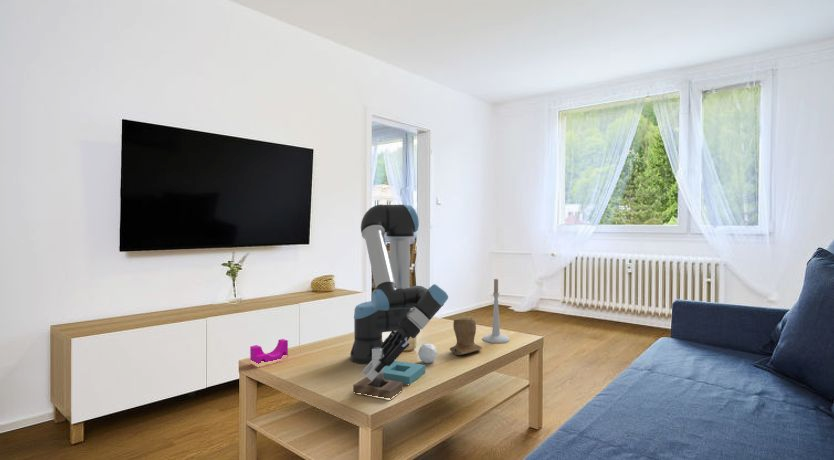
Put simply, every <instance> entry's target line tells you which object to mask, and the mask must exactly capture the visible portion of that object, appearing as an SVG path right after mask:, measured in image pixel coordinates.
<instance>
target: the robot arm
mask: <svg viewBox="0 0 834 460" xmlns="http://www.w3.org/2000/svg"><path fill="white" fill-rule="evenodd" d="M419 225H420V219H419V216H418V213H417V210H416V208H415V207H414V206H413V205H410V204H376V205H373V206H372V207H370V208H369V209H368V210H367V211H366V212H365V214H364V215H363V217H362V219H361V223H360V232H361V237H362V238H363V239H364V240H365V244H366V251H367V253H368V259H369V264H370V268H371V272H372V276H373V281H374V286H375V289H374V290H373V291H372V293H371V301H366V302H365V301H364V302H361V303H359V304H357V305H356V306H355V308H354V316H353V319H354V321H353V322H354V323H353V324H354V325H353V326H354V331H353V332H354V342H353V344H352V347H351V351H350V356H349V358H350V360H351V361H352V362H353V363H357V364H367V365H365V367H364V368H363V369H362V373H364V374H365V377H367V378H369V379H370V380H371V381H373V379H374V378H375V377H376V376H377V375H378V374H379V373H380V371H381V370H382V369H383V368H384V367H385V366H387V365H388V366H390V365H391V364H392V363H393V362H394V361H396V360H397V359H398V358H399V356H400V355H401V354H402V353H403V352H404V350H406V349H407V348H408V347H409V346H410V343H409V342H408V341H409V340H410V338H412V339H416V337H417V336H418V335H419V334H420V332H421V330H423V329H424V328H425V327H426V326H427V325H428V323H429V322H430V321H431V319H432V318H433V317H434V316H435V315H436V314H437V313H439V310H441V308H442V307H443V306H444V304H445V303H446V302H447V300H448V299H449V294H448V293H447V292H446V291H445V290H444V289H443V288H442V287H440V286H439V285H437V284H436V283H434V284H432V285H431V286H430V287H428V288H426V287H425V286H422V285H414V286H411V285H410V281H411V280H410V277H411V276H410V273H411V271H410V270H411V267H410V266H411V265H410V264H411V240H413V238H414V233H416V232H417V231H418V230H419ZM385 234H386V235H385ZM385 236H386V238H387V239H388V240H389V251H388V247H387V244H386V239H385ZM389 332H390V333H389ZM383 333H389V335H388V336H387V337H386V338H385V340H383ZM375 347H382V348H384V357H383V358H382V359H379V361H378V362H377V363H376V364H375V365H374V367H373V368H372V348H375ZM380 361H381V362H380Z"/></svg>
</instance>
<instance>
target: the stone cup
mask: <svg viewBox="0 0 834 460" xmlns="http://www.w3.org/2000/svg"><path fill="white" fill-rule="evenodd" d="M452 324H453V325H452V326H453V331H454V334H455V339H456V344H455V345H454V346H452V347H449V351H451V353H452V354H454V355H456V356H463V355H467V354H471V353H474V352H477V351H479V350H480V351H481V350H482V349H483V347H482V346H481V345H479V344H476V343H475V336H476V332H477V331H476V330H477V323H476V320H475V318H473V317H458V318H455V319H453V323H452Z"/></svg>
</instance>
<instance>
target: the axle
mask: <svg viewBox="0 0 834 460" xmlns="http://www.w3.org/2000/svg"><path fill="white" fill-rule="evenodd" d="M383 357H384V348H382V347H375V348H372V368H373V367H374V365H375V364H376V363H377V362H378V361H379V359H382V358H383ZM380 362H381V361H380ZM372 386H376V387H383V386H384V368H383V369H382V370H381V371H380V373H379V374H378V375H377V376H376V377H375V378H374V379H373V381H372Z"/></svg>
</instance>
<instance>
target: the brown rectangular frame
mask: <svg viewBox="0 0 834 460" xmlns="http://www.w3.org/2000/svg"><path fill="white" fill-rule="evenodd" d="M352 386H353V389H352V390H353V391H352V393H353V392H355V393H361V394H367V395H372V396H378V397H384V398H390V399H391V398H392V397H393V396H395V395H396V394H398V393H399V392H400V391H402V390H404V388H403V387H404V384H403V382H399V381H393V380H387V379H384V386H383V387H376V386H372V381H371V380H370V379H369V378H367V377H366V376H365V377H364V378H362V379H361V380H359V381H358V382H356V383H354V384H352ZM402 392H403V391H402ZM400 393H401V392H400ZM400 393H399V394H400ZM399 394H398V395H399ZM395 397H396V396H395Z"/></svg>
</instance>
